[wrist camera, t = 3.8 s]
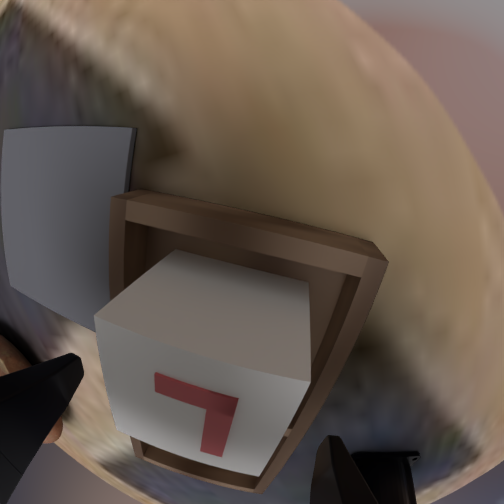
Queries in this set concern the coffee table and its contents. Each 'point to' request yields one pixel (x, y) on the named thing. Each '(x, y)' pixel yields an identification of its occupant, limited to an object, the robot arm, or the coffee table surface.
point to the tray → (264, 259)
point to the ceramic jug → (10, 360)
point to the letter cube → (207, 359)
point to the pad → (62, 213)
